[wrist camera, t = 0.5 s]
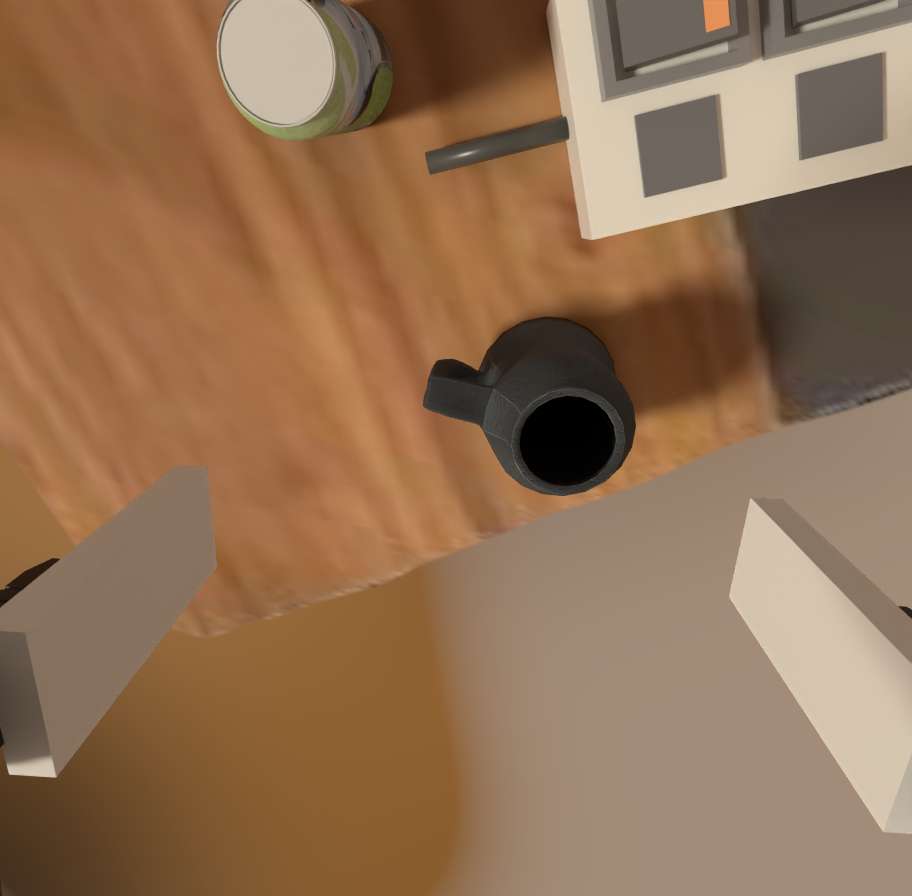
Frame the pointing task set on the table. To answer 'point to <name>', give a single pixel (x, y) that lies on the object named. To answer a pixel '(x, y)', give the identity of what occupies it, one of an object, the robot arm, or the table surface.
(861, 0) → the rocker
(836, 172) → the power strip
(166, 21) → the table surface
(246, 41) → the beverage can
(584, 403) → the mug
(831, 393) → the table surface
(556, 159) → the table surface
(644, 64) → the rocker
